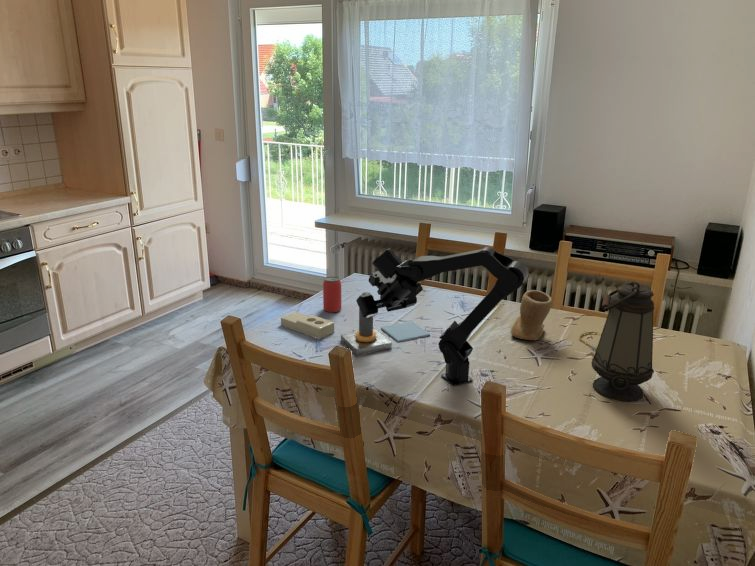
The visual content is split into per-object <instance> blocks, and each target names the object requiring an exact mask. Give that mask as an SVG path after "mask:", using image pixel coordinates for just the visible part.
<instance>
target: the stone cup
mask: <svg viewBox="0 0 755 566" xmlns="http://www.w3.org/2000/svg"><path fill="white" fill-rule="evenodd" d="M552 304H553V298H552V297H551V296H550V295H549V294H547V293H546V292H543V291H542V290H537V289H529V290H527V291H526V292H524V293H523V294H522V297H521V302H520V307H519V312H520V313H519V314H520V316H518V317H517V318H516V320H515V321H514V323H513V325H512V326H511V328H510V335H511V336H513V337H515V338H518V339H522V340H524V341H525V340H526V341H536V340H539V339H540V337H541V336H542V334H543V332H544V327H545V324H543V323H544V321H545V319H546V318H547V316H548V315H549V313H550V311H551V307H552Z"/></svg>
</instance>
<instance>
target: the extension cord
mask: <svg viewBox="0 0 755 566" xmlns="http://www.w3.org/2000/svg"><path fill="white" fill-rule="evenodd" d="M588 333H595V334H598V332H596V331H588V332H587V331H586V332H583V333H581V334H580V335H579V337H578V339H579V338H580V337H581V336H582V335H583V336H584V334H586V335H587V334H588ZM600 333H601V334H602V332H600ZM583 336H582V337H583ZM582 337H581V338H580V342H581V341H582V342H583V344H584V343H586V344H585V345H587V344H588V345H587V346H589V347H591V348H592V349H593V350H592V349H591V348H590V349H591V350H592V351H594V350H595V351H596V349H597V346H598V345H594V344H590V343H588V342H586V341H585V340H583V339H582ZM595 351H594V352H595Z"/></svg>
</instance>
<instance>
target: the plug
mask: <svg viewBox="0 0 755 566" xmlns="http://www.w3.org/2000/svg"><path fill="white" fill-rule="evenodd" d="M366 294H371V292H367V291H365V292H364V291H363V292H362V293H361V295H366ZM361 295H359V296H361ZM371 295H372V294H371ZM373 298H374V296H373ZM374 299H375V298H374ZM358 310H359V311H358V331H355V332H356V340H358V341H360V342H361V343H366V342H372V341H374V340H376V333H375V332H374V331H373V329H374V316H373V317H369V318H363V317H362V313H361V310H360V308H359V307H358Z"/></svg>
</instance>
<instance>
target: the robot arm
mask: <svg viewBox="0 0 755 566" xmlns="http://www.w3.org/2000/svg"><path fill="white" fill-rule="evenodd" d="M371 265H373V267H374V268H375V269H376V270H377V271H374V272H372V273H371V275H369V277H368V283H369V284H370V285H371V286H372V287H376V288H377V289H378V290H377V291H376V292H377V294H378V296H379V295H380V296H379V299H376V300H375V298H373V297H374V295H373V294H366V295H362V294H361V296H360V295H359V296H358V297H357V298H356V304H357V305H358V309H359V308H360V310H361V313H362V317H363V318H369V317H373V318H374V317H375V316H376V315H378V313H379V310H380V309H382V308H386V312H388V313H389V312H393V311H398V310H404V309H407V308H410V307H413V306H415V305H416V304H417V303H418V298H417V296H418V295H419V294H420V293H421V292H422V291H423V290H424V288H423V286H422V283H420V282H422V281H425V280H428V279H431V278H433V277H434V276H437V275H439V274H442V273H446V272H447V273H448V272H453V271H459V270H464V269H469V268H475V267H480V266H482V267H484V268H485V269H486V270H487V271H488V272H489V273H490V274H491V275H492V276H493V277H495V278H496V279H497V280H496V281H495V283H494V285H493V287H492V288H491V290H490V291H489V292H488V293H487V294H486V295H485V296H484V297H483V299H481V300H480V302H479V303H478V304H477V305H476V306H475V307H474V308H473V309H472V311H471V312H469V314H468V315H467V316H466V317H465V318H464V319H463V321H461V322H459V323H458V322H457V321H456V320H454V321H453V322H452V323H451V324H450V325H449V326H448V327H447V328H446V329H445V330H444V331H443V332H442V334H441V335H440V336H439V339H440V340H439V342H438V349H439V351H440V353H441V354H442V356H443V359H444V363H445V372H444V373H441V375H440V376H441V377H442V378H443V379H444V380H445V381H447V382H449V384H451V385H452V386H458V385H459V386H460V385H464V384H466V383H470V382H473V380H474V379H473V378H472V377H471V376H469V373H470V361H469V356H470V355H471V353H472V352H473V350H474V348H473V346H472V345H471V344H470V343H469V342H468V339H469V337H470V335H471V334H472V333H473V331H474V330H475V329H476V328H477V327H478V326H479V325H480V323H481V322H483V320H484V319H485V318H486V317H487V316H488V315H489V314H490V312H492V311H493V310H494V309H495V307H496V306H497V305H498V304H499V303H500V302H501V301H502V300H503V299H504V298H506V297H508V296H510V295H511V294H513V293H514V292H516V291H517V290H518V289H520V288H521V287H522V285H524V283H525V281H526V279H528V277H529V274H530V273H529V268H528V266H527V265H526V264H525V263H524V262H522V261H519V260H514V259H513V258H511V257H510V256H507V255H505V254H503V253H501V252H498V251H496V249H494V248H492V247H490V246H486V247H483V248H481V249H476V250H471V251H470V250H469V251H464V252H460V253H454V254H450V255H449V254H448V255H444V256H437V255H421V256H418V257H417V258H415V259H406V260H404V261H403V260H401V259H400V258H399V257H398V255H397V254H396V253H395V251H394V250H393V249H392V248H391V247H390V248H388V249H386V250H385V251H384V252H383V253H382V254H380V255H379V256H377V257H376V258H375V259H374V260H373V261H372V262H371ZM395 276H396V277H395ZM394 277H395V278H394Z"/></svg>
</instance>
